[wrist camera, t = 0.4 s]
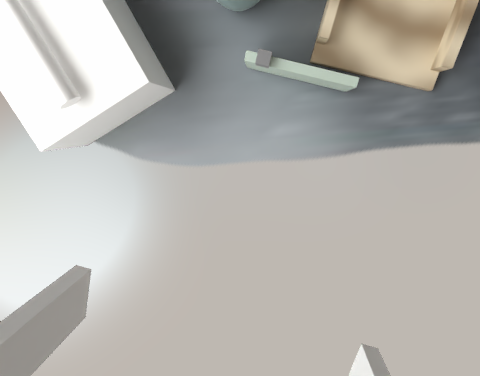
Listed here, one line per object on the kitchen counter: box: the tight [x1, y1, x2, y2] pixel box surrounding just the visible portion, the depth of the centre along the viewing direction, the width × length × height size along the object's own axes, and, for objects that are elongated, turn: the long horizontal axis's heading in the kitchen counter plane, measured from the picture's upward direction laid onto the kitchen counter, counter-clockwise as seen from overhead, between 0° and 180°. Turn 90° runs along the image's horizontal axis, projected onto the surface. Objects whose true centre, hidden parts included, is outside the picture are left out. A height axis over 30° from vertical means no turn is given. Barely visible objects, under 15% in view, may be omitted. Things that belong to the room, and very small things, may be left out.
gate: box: [244, 49, 359, 92], centre depth 32 cm, size 1×12×6 cm, turn 76°
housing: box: [310, 0, 479, 91], centre depth 31 cm, size 13×14×4 cm
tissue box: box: [0, 0, 176, 152], centre depth 32 cm, size 14×25×11 cm, turn 29°
